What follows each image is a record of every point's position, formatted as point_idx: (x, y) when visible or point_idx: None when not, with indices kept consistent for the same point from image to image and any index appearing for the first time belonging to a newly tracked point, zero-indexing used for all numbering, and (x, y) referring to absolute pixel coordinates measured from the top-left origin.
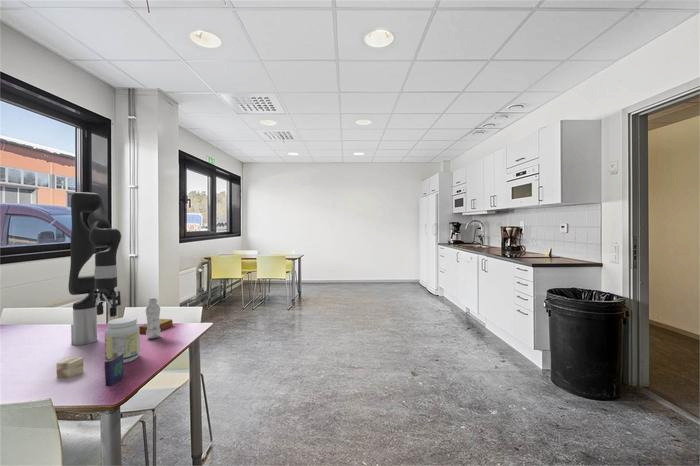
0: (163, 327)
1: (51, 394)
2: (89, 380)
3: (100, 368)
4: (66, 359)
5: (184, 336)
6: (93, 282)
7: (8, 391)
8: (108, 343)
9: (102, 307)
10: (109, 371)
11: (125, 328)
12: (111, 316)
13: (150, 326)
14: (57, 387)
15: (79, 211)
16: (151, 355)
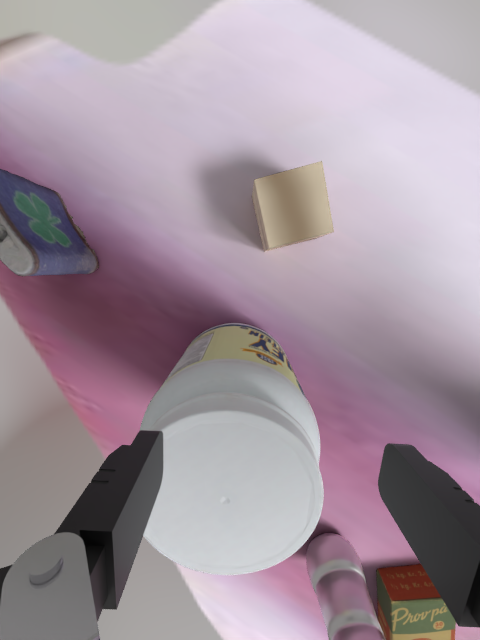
0: (381, 625)
1: (164, 79)
2: (159, 205)
3: (230, 289)
4: (322, 207)
5: (229, 582)
6: None
7: (348, 34)
8: (229, 344)
9: (434, 572)
10: None
11: None
12: (141, 434)
13: (339, 592)
14: (207, 125)
15: None
16: None
